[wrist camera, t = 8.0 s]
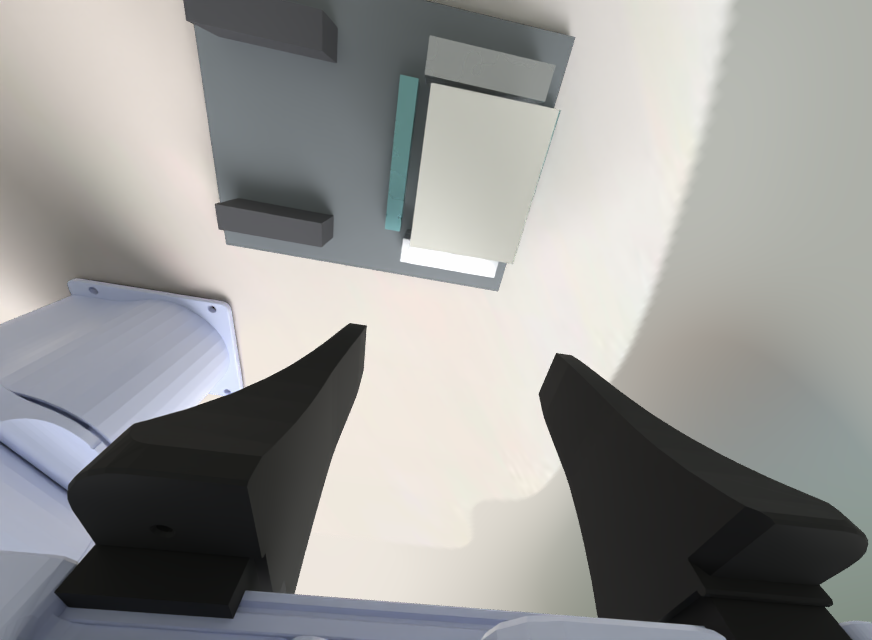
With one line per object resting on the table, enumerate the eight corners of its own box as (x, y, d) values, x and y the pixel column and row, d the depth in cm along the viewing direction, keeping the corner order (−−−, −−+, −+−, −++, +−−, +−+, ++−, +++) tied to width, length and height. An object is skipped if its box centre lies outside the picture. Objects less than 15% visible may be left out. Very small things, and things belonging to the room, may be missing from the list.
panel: (232, 241, 18) (226, 244, 18) (192, -52, 13) (181, -60, 12) (496, 287, 20) (498, 291, 19) (570, 41, 14) (575, 37, 13)
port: (384, 246, 18) (378, 257, 16) (405, 43, 13) (400, 28, 12) (506, 268, 18) (513, 281, 17) (564, 80, 14) (582, 71, 12)
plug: (418, 215, 17) (409, 246, 12) (433, 105, 14) (431, 82, 9) (490, 228, 17) (513, 263, 12) (516, 123, 15) (559, 109, 10)
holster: (241, 220, 17) (218, 229, 15) (214, -1, 13) (179, -25, 11) (333, 237, 17) (321, 247, 16) (337, 27, 13) (322, 9, 11)
